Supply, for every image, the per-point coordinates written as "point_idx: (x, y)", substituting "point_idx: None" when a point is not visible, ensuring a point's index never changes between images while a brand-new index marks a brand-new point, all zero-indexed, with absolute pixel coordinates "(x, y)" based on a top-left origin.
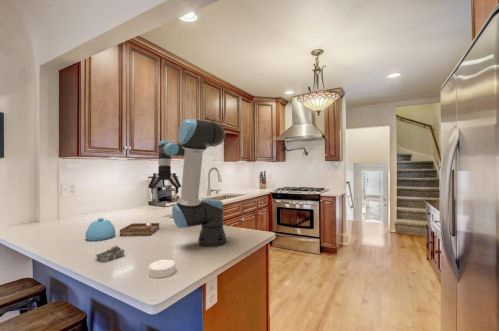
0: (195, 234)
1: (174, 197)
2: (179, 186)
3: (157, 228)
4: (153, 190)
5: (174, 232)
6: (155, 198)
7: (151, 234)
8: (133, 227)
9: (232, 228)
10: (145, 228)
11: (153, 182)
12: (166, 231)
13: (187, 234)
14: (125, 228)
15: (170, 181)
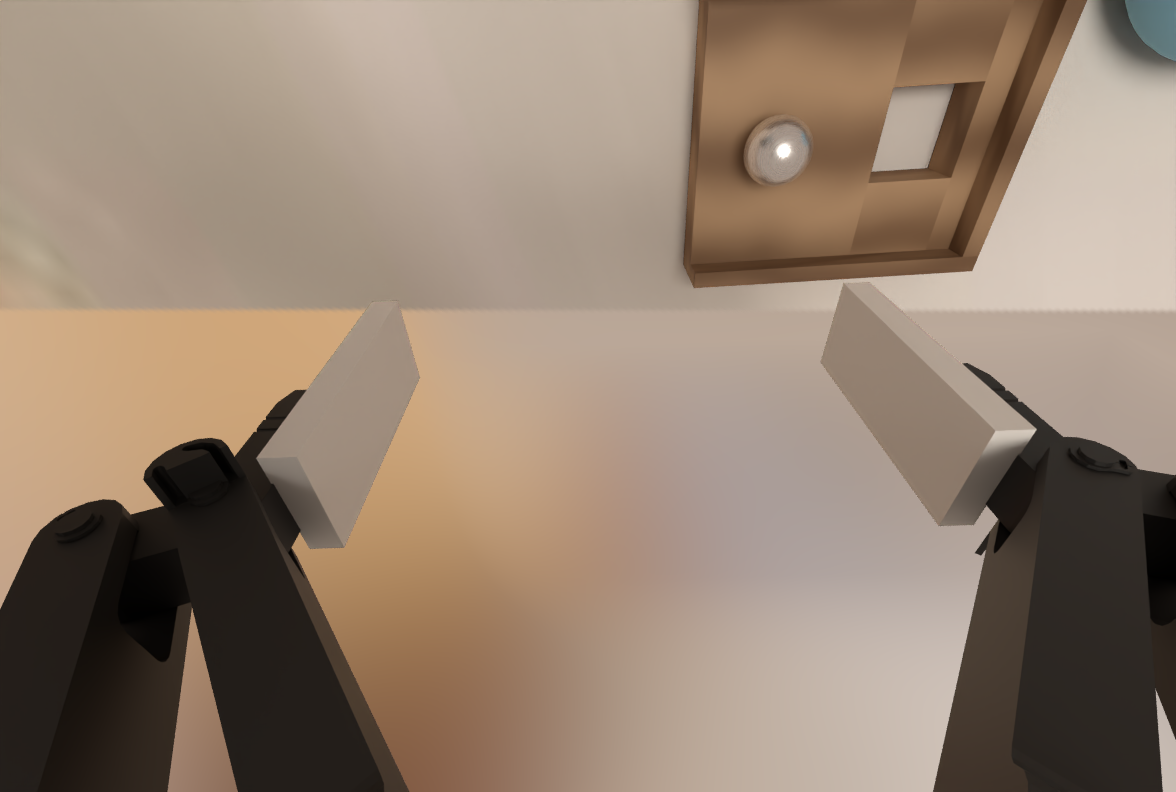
0: (217, 43)
1: (383, 313)
2: (57, 521)
3: (689, 223)
4: (973, 397)
5: (488, 136)
6: (822, 359)
7: (699, 22)
8: (935, 190)
9: (7, 286)
10: None
11: (1174, 718)
12: (585, 177)
13: (306, 44)
14: (1029, 70)
15: (330, 737)
